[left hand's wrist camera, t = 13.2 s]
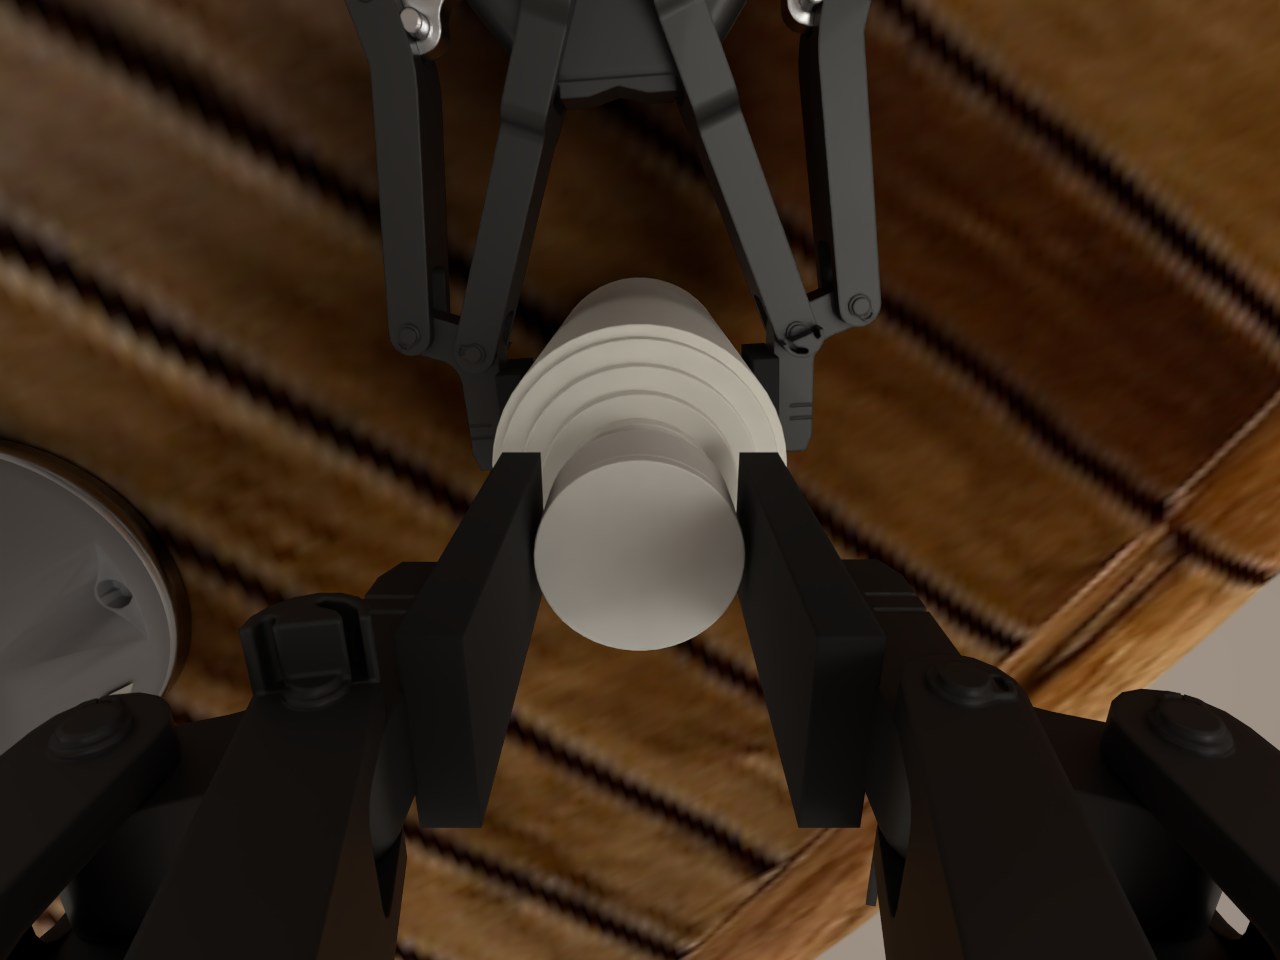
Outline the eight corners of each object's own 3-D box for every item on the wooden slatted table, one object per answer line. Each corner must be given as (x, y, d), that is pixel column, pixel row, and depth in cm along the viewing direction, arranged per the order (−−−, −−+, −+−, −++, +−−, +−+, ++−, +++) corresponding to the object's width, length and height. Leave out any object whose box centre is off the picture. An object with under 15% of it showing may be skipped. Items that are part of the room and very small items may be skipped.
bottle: (589, 467, 30) (532, 747, 14) (528, 311, 28) (379, 435, 12) (745, 417, 29) (870, 653, 14) (695, 252, 27) (775, 300, 11)
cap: (585, 619, 15) (577, 674, 13) (518, 463, 14) (499, 499, 12) (754, 569, 15) (769, 618, 13) (701, 402, 13) (709, 431, 12)
